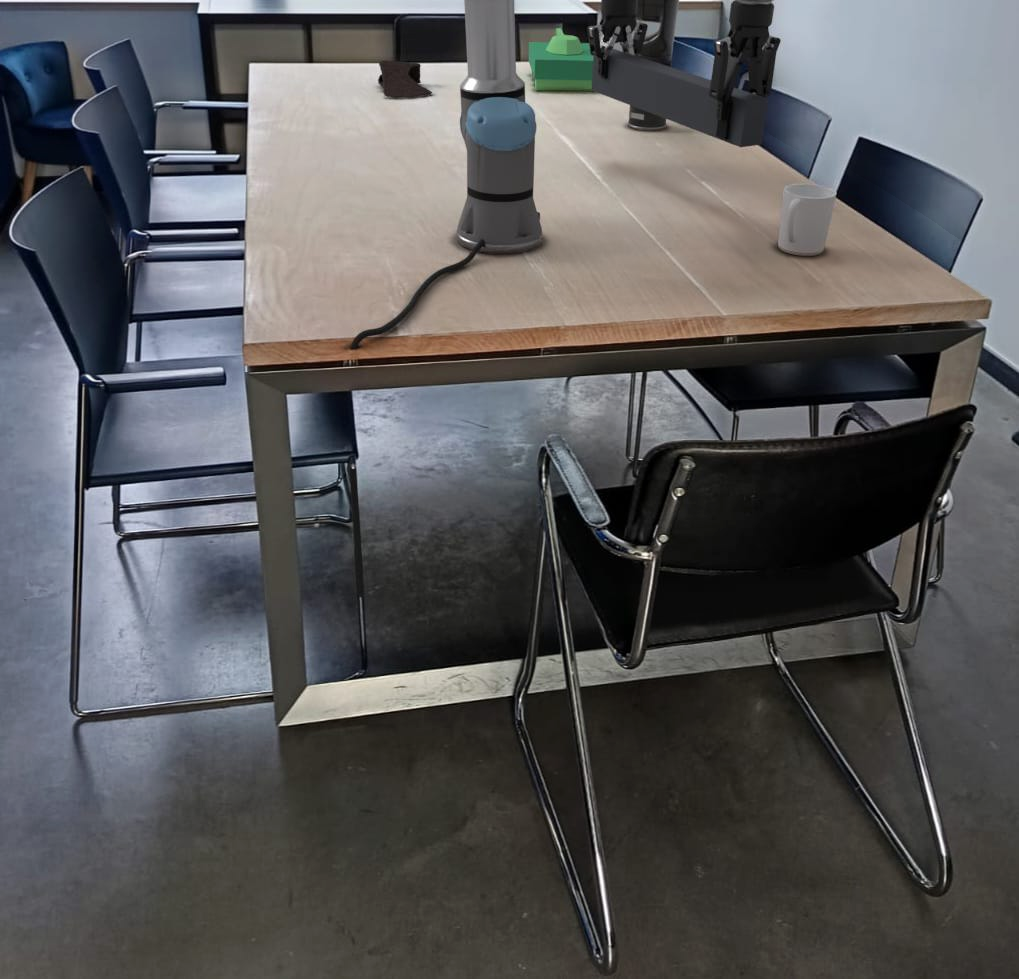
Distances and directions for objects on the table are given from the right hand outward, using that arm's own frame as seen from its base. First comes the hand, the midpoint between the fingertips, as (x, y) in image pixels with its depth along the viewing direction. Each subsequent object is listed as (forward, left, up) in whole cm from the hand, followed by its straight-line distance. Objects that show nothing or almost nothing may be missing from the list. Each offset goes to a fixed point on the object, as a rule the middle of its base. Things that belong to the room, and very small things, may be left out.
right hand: (614, 76), depth 232 cm
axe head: (-63, -59, -18) cm, 88 cm away
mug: (+52, +36, -18) cm, 66 cm away
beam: (+17, +12, -4) cm, 21 cm away
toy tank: (-87, -18, -18) cm, 91 cm away
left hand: (+33, +24, -3) cm, 41 cm away
